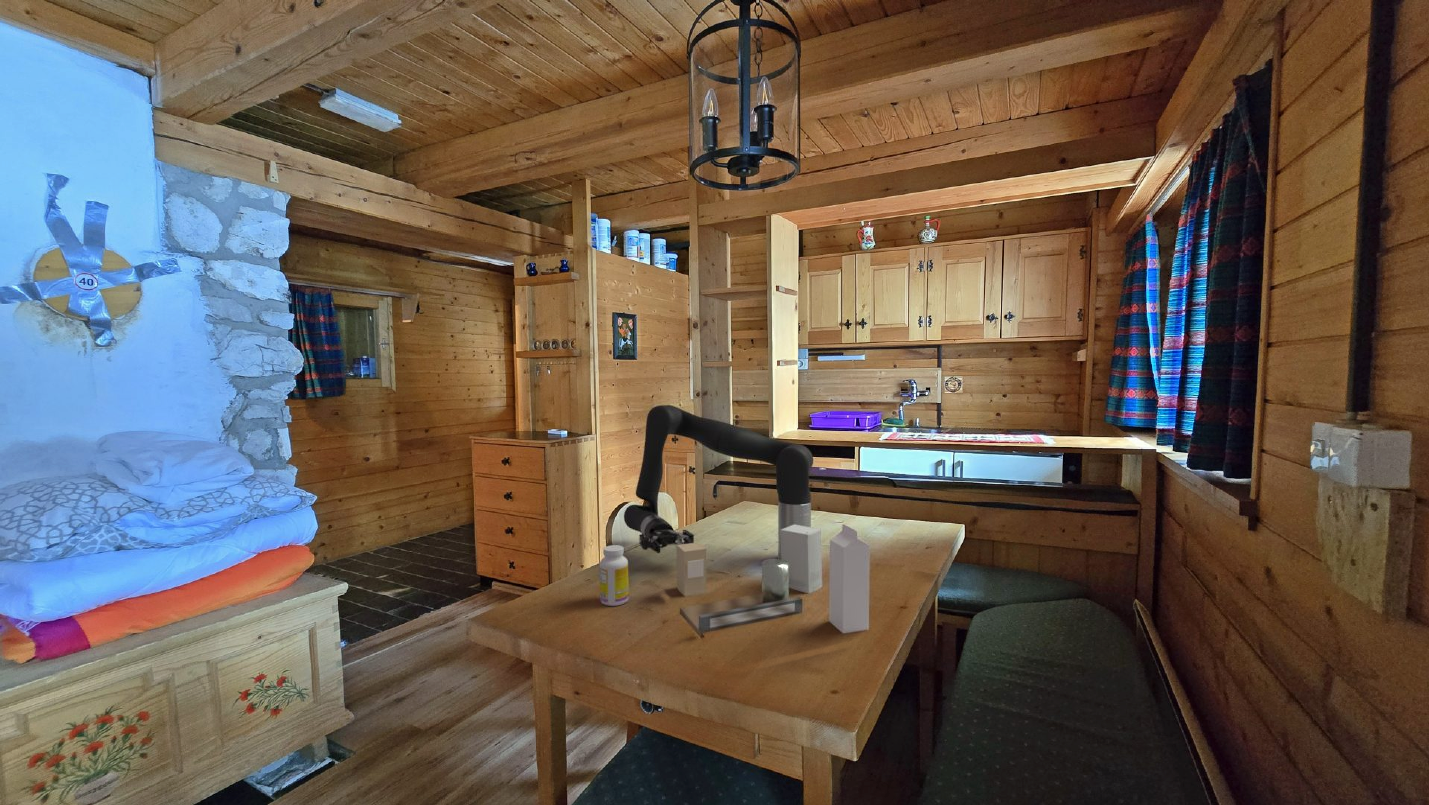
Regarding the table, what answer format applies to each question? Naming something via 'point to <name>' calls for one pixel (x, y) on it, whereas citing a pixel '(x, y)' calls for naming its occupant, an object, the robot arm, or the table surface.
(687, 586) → the kraft carton
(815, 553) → the skincare box
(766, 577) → the oat tin
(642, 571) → the table surface
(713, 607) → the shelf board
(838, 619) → the milk
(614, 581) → the supplement bottle
